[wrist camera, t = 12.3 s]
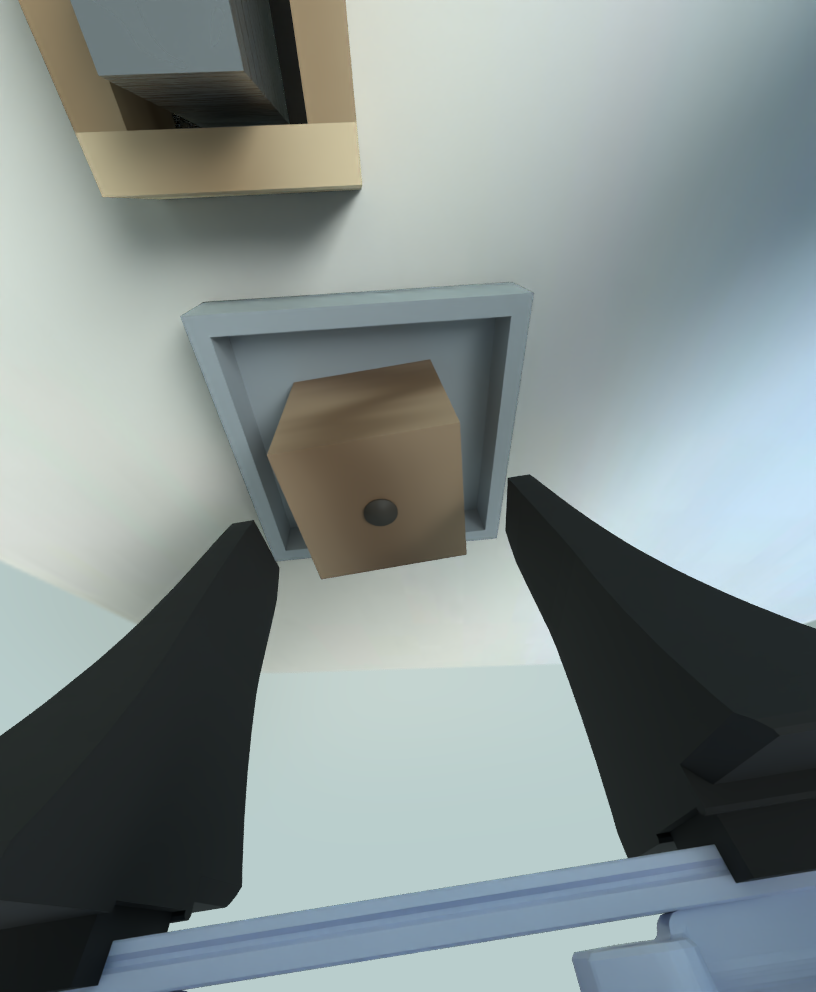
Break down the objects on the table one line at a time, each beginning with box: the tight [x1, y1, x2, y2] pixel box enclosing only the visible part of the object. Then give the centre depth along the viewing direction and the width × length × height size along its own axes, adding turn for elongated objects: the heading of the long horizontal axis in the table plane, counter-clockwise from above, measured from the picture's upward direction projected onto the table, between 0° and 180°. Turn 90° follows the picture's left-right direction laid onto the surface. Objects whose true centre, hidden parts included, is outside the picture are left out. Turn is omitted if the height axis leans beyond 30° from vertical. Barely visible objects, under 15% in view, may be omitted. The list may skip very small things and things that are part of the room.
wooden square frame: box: [18, 0, 362, 199], centre depth 8 cm, size 6×6×3 cm
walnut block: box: [267, 359, 466, 579], centre depth 13 cm, size 5×5×5 cm
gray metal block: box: [70, 0, 290, 128], centre depth 7 cm, size 2×2×5 cm
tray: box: [180, 282, 534, 561], centre depth 15 cm, size 10×10×2 cm
